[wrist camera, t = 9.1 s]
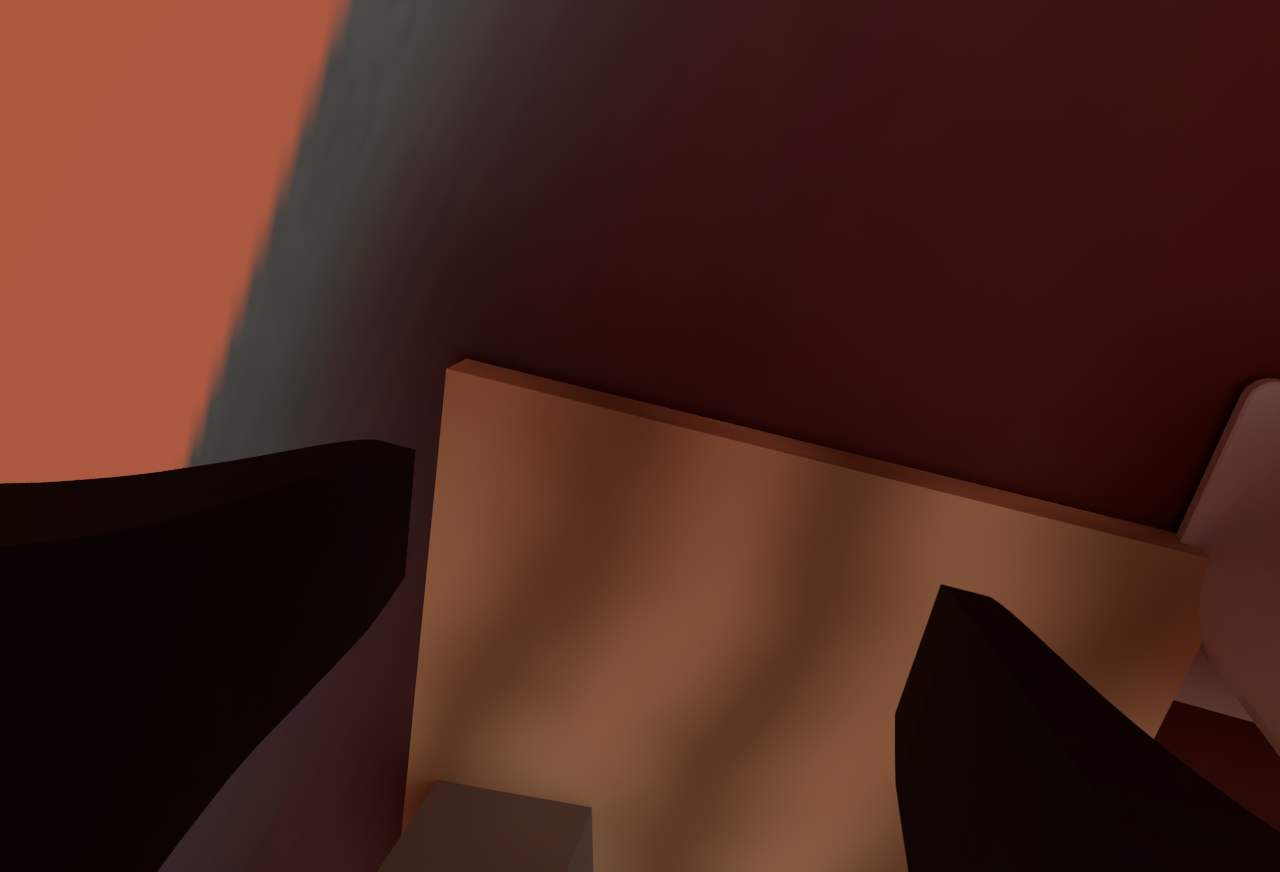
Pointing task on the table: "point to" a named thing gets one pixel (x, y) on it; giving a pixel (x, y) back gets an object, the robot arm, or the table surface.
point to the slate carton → (493, 834)
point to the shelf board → (733, 621)
